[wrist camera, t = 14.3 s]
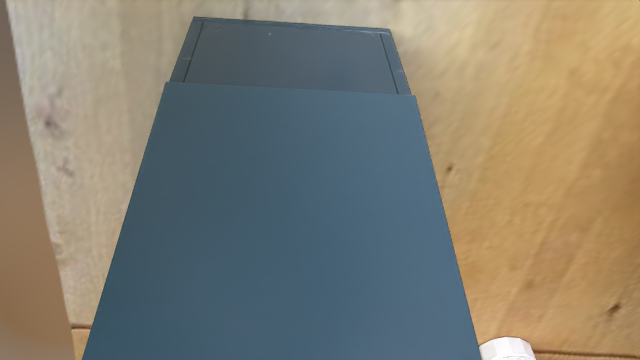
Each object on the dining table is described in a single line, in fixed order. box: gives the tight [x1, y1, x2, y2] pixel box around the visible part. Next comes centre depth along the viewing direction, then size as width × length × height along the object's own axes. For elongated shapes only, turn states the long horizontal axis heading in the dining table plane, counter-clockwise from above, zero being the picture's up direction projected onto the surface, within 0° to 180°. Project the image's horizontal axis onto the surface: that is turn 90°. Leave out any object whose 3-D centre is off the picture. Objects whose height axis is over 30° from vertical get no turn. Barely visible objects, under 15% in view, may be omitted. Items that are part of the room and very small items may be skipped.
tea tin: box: [169, 17, 412, 95], centre depth 40 cm, size 16×14×10 cm
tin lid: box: [82, 82, 482, 360], centre depth 25 cm, size 16×14×1 cm
